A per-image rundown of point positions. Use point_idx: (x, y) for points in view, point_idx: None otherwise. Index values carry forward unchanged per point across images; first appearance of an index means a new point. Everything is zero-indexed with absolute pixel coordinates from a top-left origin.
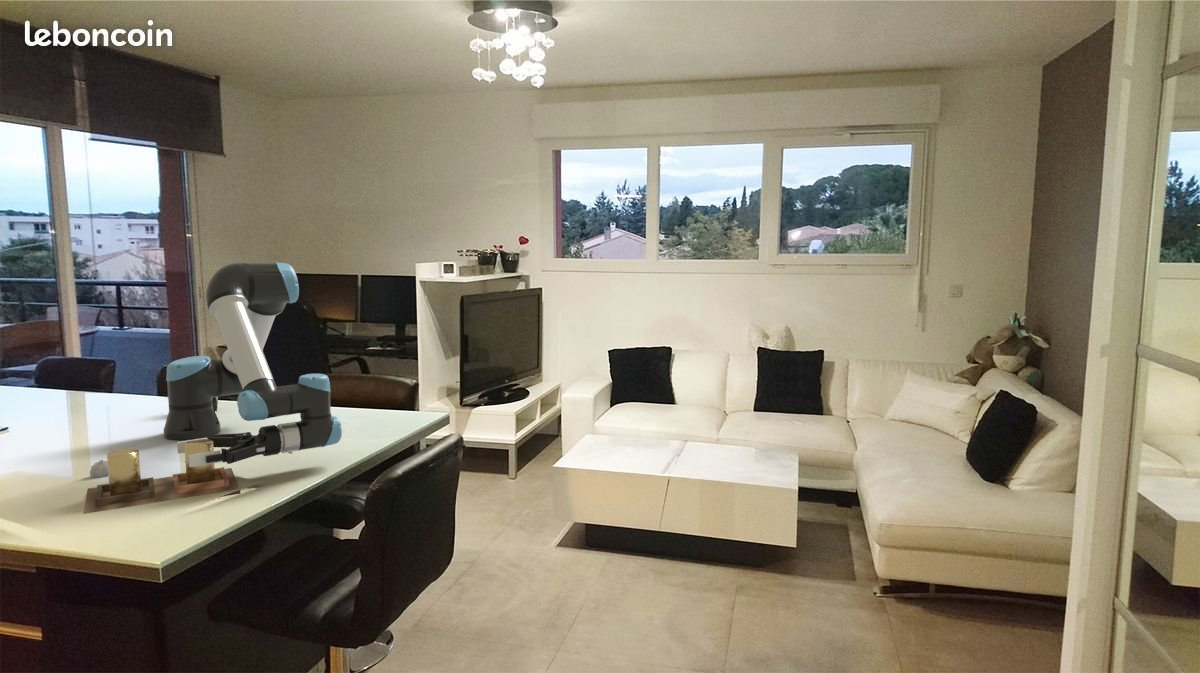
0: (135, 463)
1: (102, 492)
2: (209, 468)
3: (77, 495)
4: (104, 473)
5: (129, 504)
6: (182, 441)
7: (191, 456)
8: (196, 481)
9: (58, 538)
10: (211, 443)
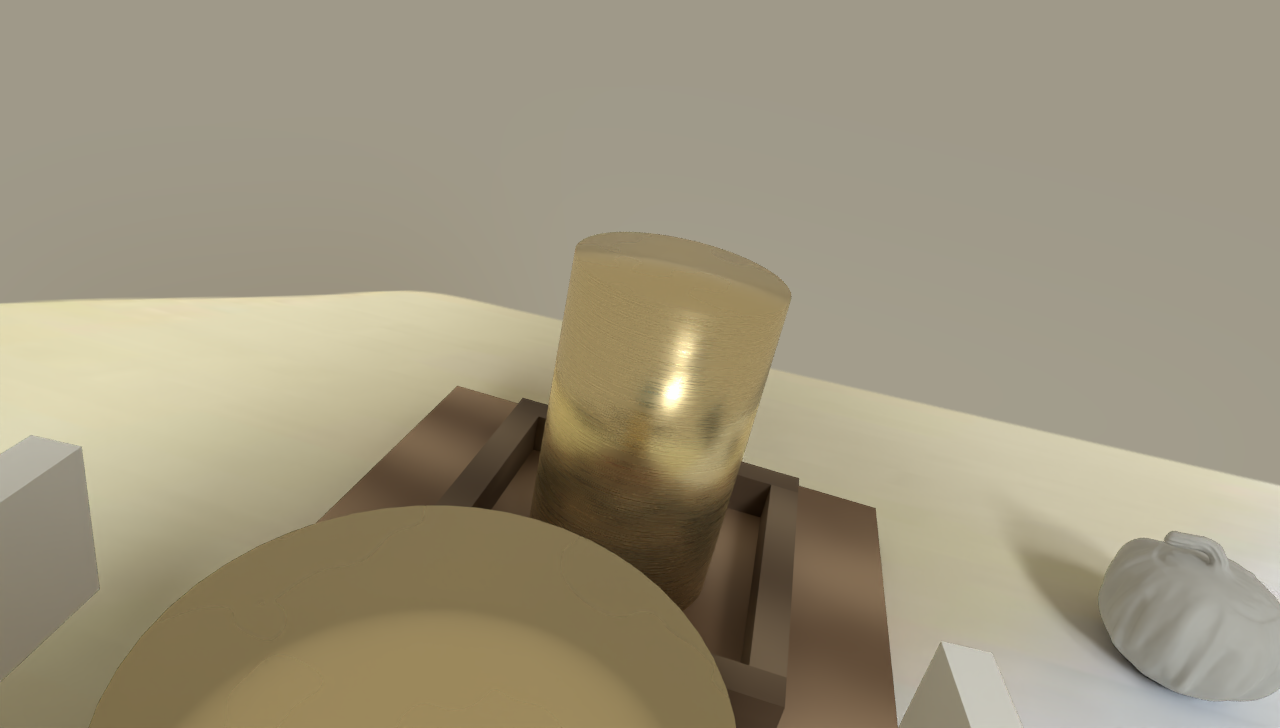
0: (578, 362)
1: None
2: None
3: None
4: (1112, 602)
5: (387, 497)
6: (1000, 713)
7: (2, 465)
8: None
9: (310, 325)
10: None
